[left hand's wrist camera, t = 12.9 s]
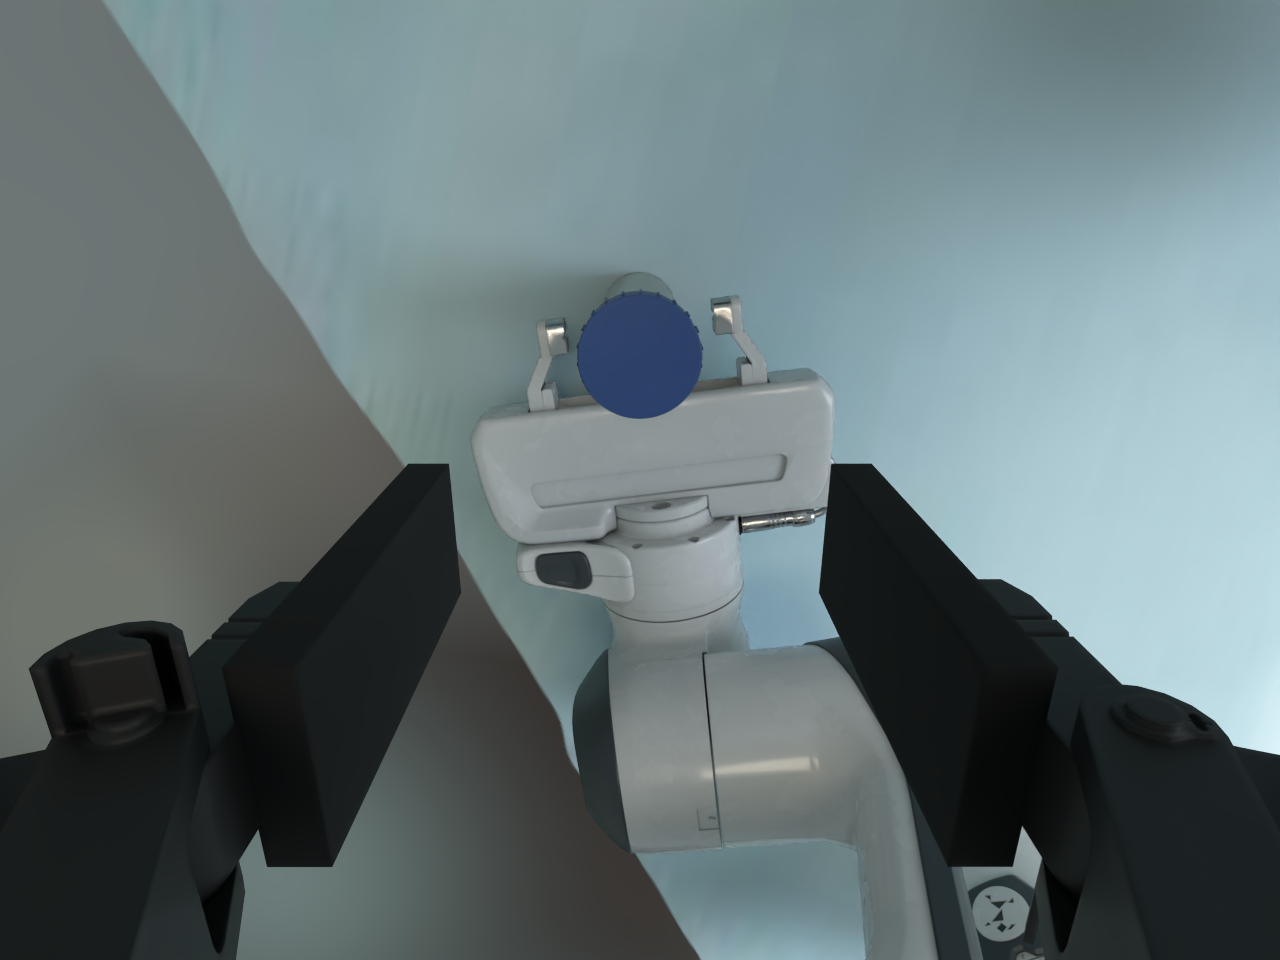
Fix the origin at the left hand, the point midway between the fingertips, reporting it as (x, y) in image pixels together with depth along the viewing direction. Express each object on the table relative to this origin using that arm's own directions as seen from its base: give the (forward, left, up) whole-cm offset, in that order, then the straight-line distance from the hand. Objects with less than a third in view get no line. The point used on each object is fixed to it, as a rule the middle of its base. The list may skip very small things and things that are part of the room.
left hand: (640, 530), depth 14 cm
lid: (0, 0, -18) cm, 18 cm away
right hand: (-1, 0, -27) cm, 27 cm away
